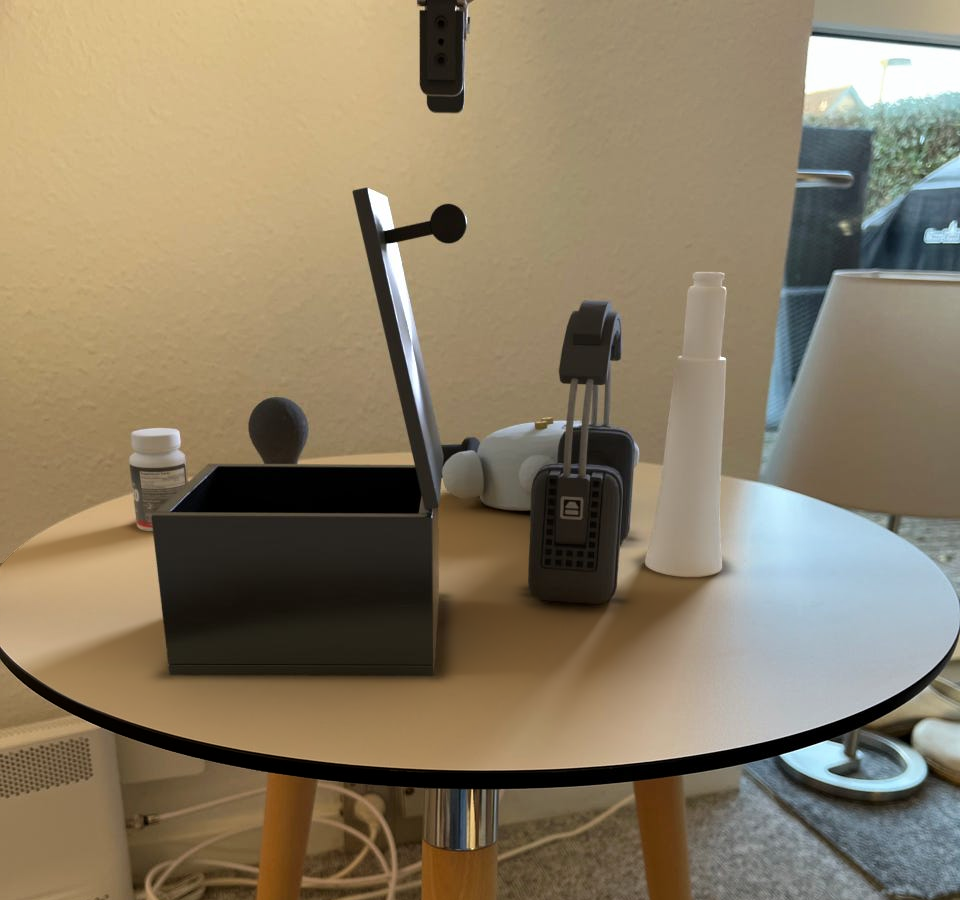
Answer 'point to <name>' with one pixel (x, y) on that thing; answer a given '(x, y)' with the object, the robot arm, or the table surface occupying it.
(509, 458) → the figurine
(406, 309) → the dark grey box lid
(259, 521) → the dark grey open box
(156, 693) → the table surface
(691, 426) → the cosmetic bottle
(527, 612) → the table surface
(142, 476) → the pill bottle
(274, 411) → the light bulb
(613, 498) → the headphones
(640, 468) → the table surface
